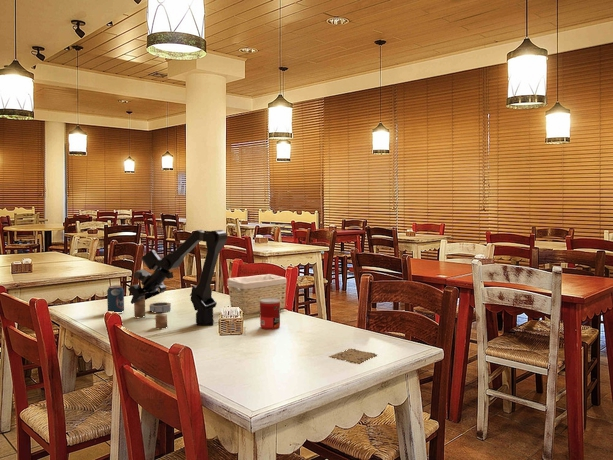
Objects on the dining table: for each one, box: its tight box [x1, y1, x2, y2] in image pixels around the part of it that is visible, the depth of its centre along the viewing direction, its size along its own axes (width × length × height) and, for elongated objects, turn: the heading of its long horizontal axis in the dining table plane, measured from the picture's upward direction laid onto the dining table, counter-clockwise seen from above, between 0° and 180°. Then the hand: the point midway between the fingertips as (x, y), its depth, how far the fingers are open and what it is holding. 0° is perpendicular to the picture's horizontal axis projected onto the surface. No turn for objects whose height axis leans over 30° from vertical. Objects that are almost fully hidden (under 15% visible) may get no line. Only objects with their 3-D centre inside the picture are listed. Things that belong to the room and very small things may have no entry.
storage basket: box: [226, 273, 288, 315], centre depth 243 cm, size 24×16×15 cm
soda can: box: [106, 284, 125, 312], centre depth 235 cm, size 7×7×12 cm
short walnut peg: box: [155, 313, 168, 329], centre depth 209 cm, size 4×4×5 cm
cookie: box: [328, 348, 378, 365], centre depth 173 cm, size 12×12×1 cm
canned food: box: [259, 298, 281, 331], centre depth 210 cm, size 8×8×11 cm
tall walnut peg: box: [133, 296, 146, 318], centre depth 227 cm, size 4×4×12 cm
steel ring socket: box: [149, 301, 172, 313], centre depth 240 cm, size 9×9×3 cm
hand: (137, 301), depth 228 cm, fingers open, 7 cm apart
